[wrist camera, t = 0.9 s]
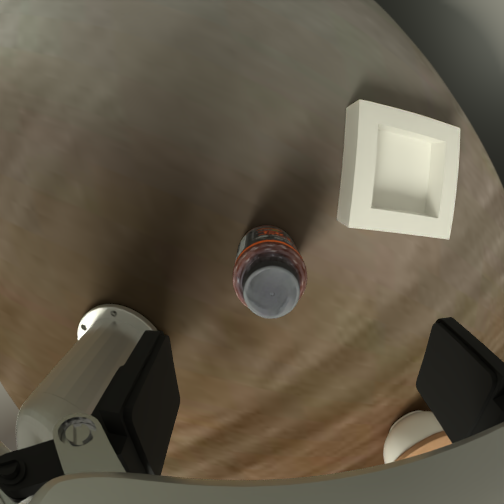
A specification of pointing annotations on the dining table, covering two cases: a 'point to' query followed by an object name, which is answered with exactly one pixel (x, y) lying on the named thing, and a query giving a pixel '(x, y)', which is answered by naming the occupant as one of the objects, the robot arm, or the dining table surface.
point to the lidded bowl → (414, 436)
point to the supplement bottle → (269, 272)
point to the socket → (398, 171)
